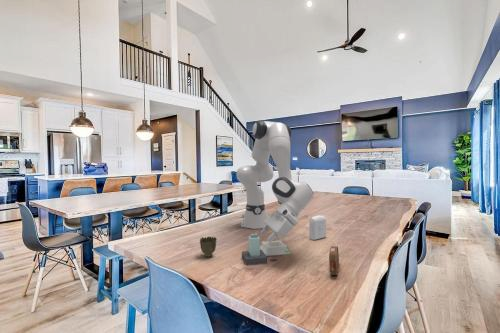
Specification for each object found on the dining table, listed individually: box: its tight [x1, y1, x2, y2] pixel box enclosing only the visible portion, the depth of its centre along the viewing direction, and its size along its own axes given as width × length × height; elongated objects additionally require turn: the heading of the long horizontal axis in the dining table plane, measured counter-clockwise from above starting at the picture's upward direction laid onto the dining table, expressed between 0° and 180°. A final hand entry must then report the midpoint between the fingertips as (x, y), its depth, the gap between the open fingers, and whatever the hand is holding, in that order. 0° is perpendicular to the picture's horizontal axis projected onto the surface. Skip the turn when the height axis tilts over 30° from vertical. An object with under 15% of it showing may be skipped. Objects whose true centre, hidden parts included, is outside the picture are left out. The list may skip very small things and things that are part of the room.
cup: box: [199, 236, 218, 258], centre depth 116 cm, size 8×7×8 cm
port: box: [260, 239, 292, 257], centre depth 123 cm, size 12×12×3 cm
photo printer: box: [308, 214, 327, 241], centre depth 141 cm, size 10×4×12 cm, turn 123°
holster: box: [241, 249, 268, 266], centre depth 111 cm, size 9×9×2 cm
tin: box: [328, 245, 340, 276], centre depth 101 cm, size 15×3×8 cm, turn 158°
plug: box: [248, 233, 261, 257], centre depth 111 cm, size 4×4×11 cm
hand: (264, 237), depth 112 cm, fingers open, 8 cm apart
